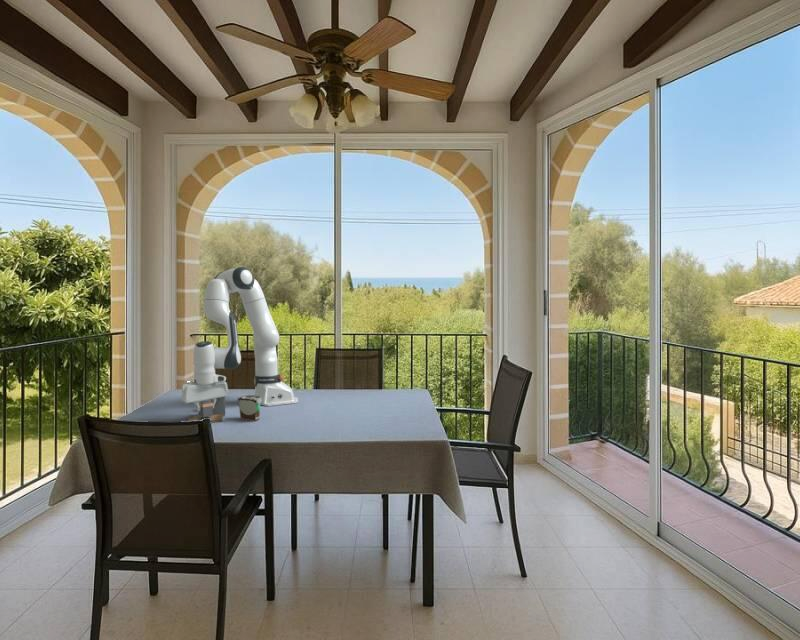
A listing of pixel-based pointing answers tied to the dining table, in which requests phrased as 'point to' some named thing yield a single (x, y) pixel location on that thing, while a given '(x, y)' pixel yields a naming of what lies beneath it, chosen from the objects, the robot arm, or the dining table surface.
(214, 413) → the grey upright block
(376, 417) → the dining table surface
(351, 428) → the dining table surface
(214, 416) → the pad
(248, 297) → the robot arm
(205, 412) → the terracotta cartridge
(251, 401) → the food container
